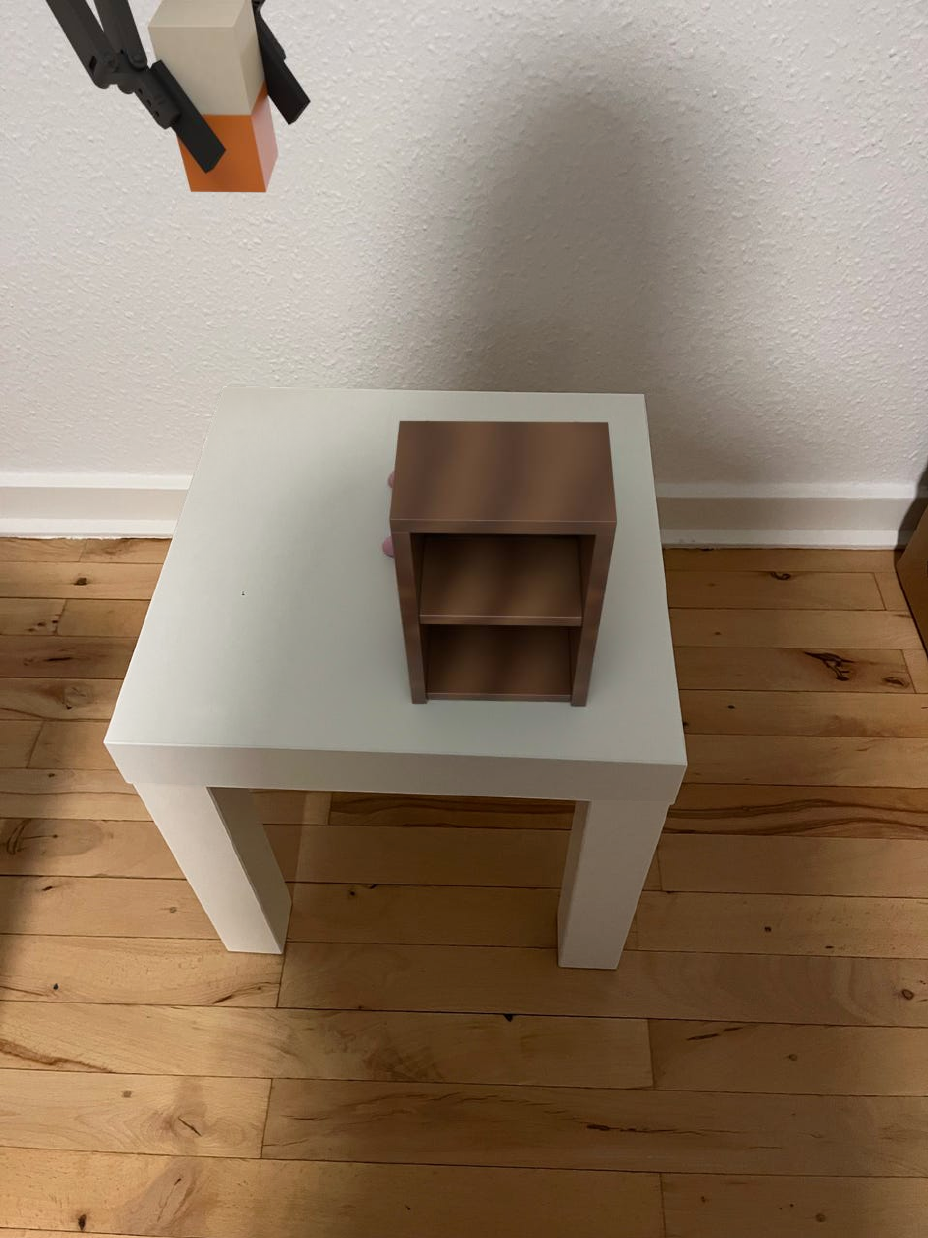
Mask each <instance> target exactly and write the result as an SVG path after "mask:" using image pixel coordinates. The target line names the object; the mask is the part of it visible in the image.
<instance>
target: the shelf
mask: <svg viewBox="0 0 928 1238" xmlns="http://www.w3.org/2000/svg"><path fill="white" fill-rule="evenodd" d="M609 424H610V423H609V421H577V422H574V421H526V420H525V421H524V420H523V421H521V420H520V421H517V420H516V421H513V420H512V421H510V420H509V421H508V420H487V421H486V420H485V421H484V420H399V423H398V431H397V440H396V451H395V460H394V469H393V471H394V478H393V487H392V488H391V498H390V507H389V517H388V521H389V530H390V535H391V539H392V547H393V555H394V557H393V563H394V571H395V578H396V586H397V587H396V588H397V593H398V603H399V611H400V618H401V626H402V627H401V628H402V634H403V642H404V650H405V651H404V652H405V658H406V659H405V660H406V666H407V675H408V683H409V691H410V699H411V700H410V701H411V704H412V705H427V704H428V701H475V702H476V701H477V702H479V701H481V702H482V701H483V702H537V703H538V702H542V703H543V702H544V703H570V707H583V708H584V707H586V706H587V701H588V695H589V689H590V683H591V677H592V673H593V668H594V667H593V665H594V660H595V655H596V650H597V649H596V648H597V643H598V637H599V631H600V625H601V620H602V614H603V607H604V602H605V595H606V590H607V584H608V580H609V579H608V577H609V573H610V567H611V561H612V555H613V550H614V543H615V538H616V532H617V526H618V515H617V514H618V513H617V505H616V504H617V503H616V502H617V501H616V493H615V481H614V480H615V479H614V471H613V459H612V449H611V436H610V426H609Z"/></svg>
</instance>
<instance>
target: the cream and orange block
mask: <svg viewBox="0 0 928 1238" xmlns="http://www.w3.org/2000/svg"><path fill="white" fill-rule="evenodd" d="M147 31H148V34H149V38H150V42H151V45H152V50H153V54H154V57H155V62H156V61H158V60H160V59H161V60H162V61H163V63H164V64H165V65H166V67H167V68H168V70H169V71H170V72H171V74H172V75H173V76H174V78H175V79H176V81H177V82H178V83H179V85H180V86H181V88H182V89H183V90H184V92H185V93H186V94H187V96H188V97H189V99H190V100H191V101H192V103H193V104H194V106H195V107H196V108H197V110H198V111H199V112H200V114H201V115H202V117H203V118H204V119H205V121H206V122H207V124H208V125H209V126H210V128H211V129H212V130H213V132H214V133H215V135H216V136H217V137H218V139H219V140H220V142H221V143H222V144H223V146H224V147H225V149H226V151H225V153H224V154H223V156H222V157H221V159H220V160H219V162H218V163H217V165H216V166H215V168H214V169H213V170H211V171H210V172H208V173H206V174H205V173H204V171H203V170H202V169H201V167H200V166H199V164H198V163H197V162H196V160H195V159H194V158H193V156H192V155H191V154H190V152H189V151H188V150H187V148H186V147H185V145H184V144H183V143H182V141H181V140H180V139H179V137H178V136H177V135H176V134H175V136H176V141H177V145H178V149H179V152H180V155H181V159H182V164H183V168H184V171H185V175H186V178H187V183H188V187H189V191H190V192H191V193H267V190H268V187H269V183H270V180H271V178H272V174H273V172H274V168H275V166H276V163H277V159H278V157H279V150H278V144H277V138H276V133H275V128H274V122H273V116H272V110H271V104H270V97H269V96H268V93H267V87H266V82H265V76H264V70H263V65H262V59H261V53H260V48H259V42H258V36H257V31H256V25H255V20H254V14H253V8H252V3H251V0H161V2H160V4H159V5H158V7H157V9H156V10H155V12H154V14H153V15H152V17H151V19H150V21H149V23H148V24H147Z"/></svg>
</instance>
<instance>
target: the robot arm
mask: <svg viewBox="0 0 928 1238" xmlns="http://www.w3.org/2000/svg"><path fill="white" fill-rule="evenodd" d="M45 2H46V4H47V6H48V7H49V9H50V11H51V13H52V14H53V16H54V18H55V20H56V22H57V23H58V25H59V27H60V28H61V30H62V31H63V33H64V35H65V37H66V38H67V40H68V42H69V44H70V45H71V47H72V49H73V51H74V52H75V54H76V56H77V58H78V59H79V61H80V62H81V64H82V66H83V68H84V69H85V71H86V73H87V74H88V76H89V78H90V80H91V82H92V83H93V85H94V86H95V87H97V88H98V89H101V90H107V89H109V88H110V87H111V86H114V85H115V86H117V88H118V89H119V91H120V92H122V93H123V94H125V95H132V94H133V93H134V94H135V96H136V97H137V98H138V100H139V101H140V102H141V104H142V105H143V106H144V108H145V109H146V111H148V113H149V115H150V116H151V117H152V119H153V120H154V121H155V123H156V125H158V126H159V127H161V128H162V129H163V130H168V129H170V128H171V129H172V131H173V132H174V133H175V136H176V135H177V136H178V137H179V139H180V140H181V141H182V143H183V144H184V145H185V147H186V148H187V150H188V151H189V152H190V154H191V155H192V156H193V158H194V159H195V160H196V162H197V163H198V164H199V166H200V167H201V169H202V170H203V171H204V173H205V174H206V173H208V172H210V171H211V170H213V169H214V168H215V166H216V165H217V163H218V162H219V160H220V159H221V157H222V156H223V154H224V153H225V151H226V149H225V147H224V146H223V144H222V143H221V142H220V140H219V139H218V137H217V136H216V135H215V133H214V132H213V130H212V129H211V128H210V126H209V125H208V124H207V122H206V121H205V119H204V118H203V117H202V115H201V114H200V112H199V111H198V110H197V108H196V107H195V106H194V104H193V103H192V101H191V100H190V99H189V97H188V96H187V94H186V93H185V92H184V90H183V89H182V88H181V86H180V85H179V83H178V82H177V81H176V79H175V78H174V76H173V75H172V74H171V72H170V71H169V70H168V68H167V67H166V65H165V64H164V63H163V61H162V60H161V59H160V60H158V61H156V60H155V62H152V63H151V65H150V66H149V65H148V56H147V54H146V52H145V48H144V45H143V42H142V39H141V36H140V33H139V30H138V27H137V24H136V21H135V18H134V15H133V11H132V8H131V6H130V3H129V0H93V3H94V7H95V10H96V12H97V15H98V18H99V20H98V19H97V17H96V15H95V14H94V12H93V10H92V8H91V7H90V5H89V3H88V1H87V0H45ZM265 2H266V0H251V3H252V8H253V14H254V20H255V25H256V31H257V36H258V42H259V48H260V53H261V59H262V65H263V70H264V76H265V82H266V87H267V93H268V98H269V100H271V102H272V103H273V105H274V106H275V107H276V109H277V110H278V112H279V113H280V115H281V117H283V119H284V120H285V122H286V123H287V125H288V126H290V125H292V124H294V123H296V122H297V120H298V119H299V118H300V117H301V115H302V114H303V113H304V111H305V110H307V108H308V106H309V105H310V104H311V101H312V100H311V99H310V98H309V96H308V95H307V93H306V91H305V90H304V89H303V87H302V86H301V84H300V82H299V81H298V80H297V78H296V77H295V75H294V73H292V70H291V69H290V68H289V67H288V65H287V64H286V62H285V61H286V59H287V54H286V52H285V49H284V47H282V44H281V43H280V42H279V40H278V39H277V38H276V35H274V32H273V31H272V30H271V28H270V26H268V24H267V22H266V21H265V20H264V18H263V16H262V13H261V9H262V8H263V6H264V4H265ZM99 21H100V23H99Z"/></svg>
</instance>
